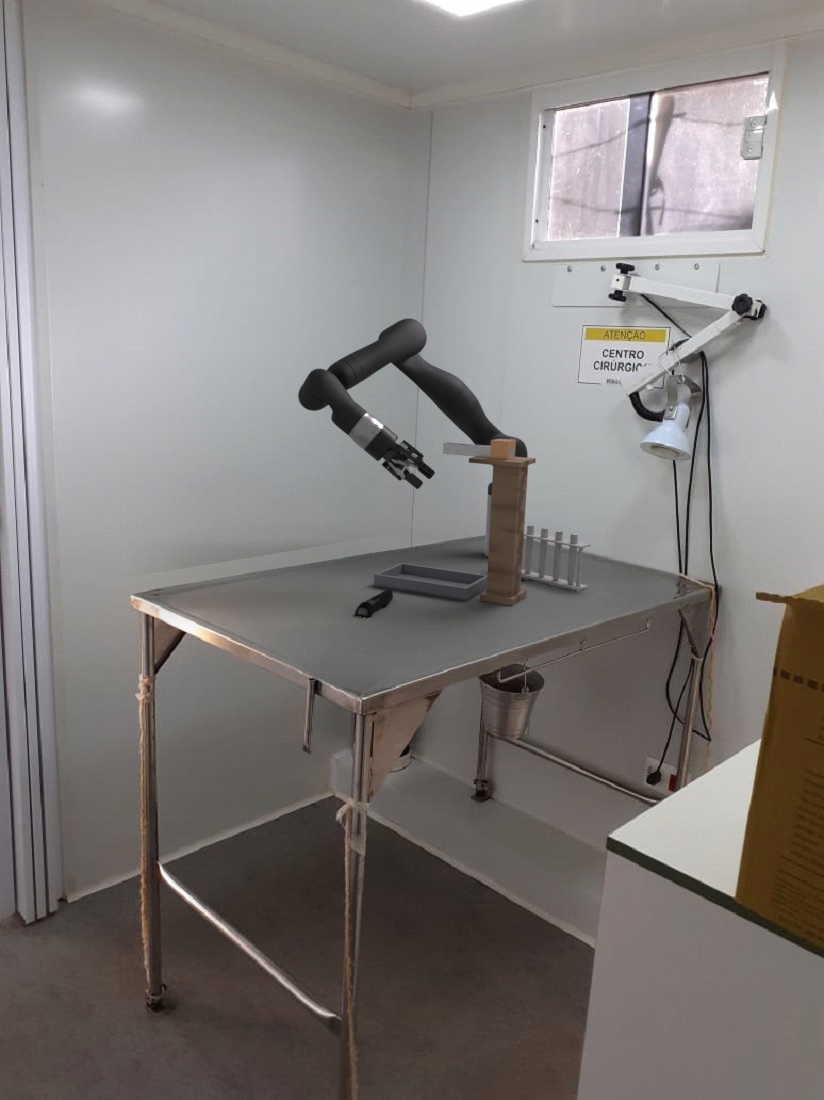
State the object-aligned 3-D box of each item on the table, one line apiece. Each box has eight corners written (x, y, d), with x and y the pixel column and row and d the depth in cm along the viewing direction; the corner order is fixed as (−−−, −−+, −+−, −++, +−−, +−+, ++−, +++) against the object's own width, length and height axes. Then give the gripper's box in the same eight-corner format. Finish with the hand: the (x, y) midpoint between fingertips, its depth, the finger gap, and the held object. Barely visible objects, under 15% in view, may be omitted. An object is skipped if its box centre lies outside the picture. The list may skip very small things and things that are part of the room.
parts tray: (401, 574, 216) (401, 562, 216) (488, 587, 206) (489, 575, 206) (374, 586, 204) (374, 574, 204) (466, 601, 194) (466, 588, 193)
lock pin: (449, 452, 200) (450, 435, 199) (514, 457, 193) (515, 439, 192) (440, 454, 195) (441, 436, 194) (507, 459, 188) (508, 441, 188)
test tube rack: (588, 588, 209) (592, 535, 206) (577, 591, 206) (581, 537, 203) (508, 568, 227) (511, 519, 224) (497, 571, 224) (500, 521, 221)
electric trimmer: (397, 602, 194) (397, 588, 193) (369, 619, 180) (370, 605, 179) (381, 600, 195) (382, 586, 194) (353, 617, 181) (353, 602, 180)
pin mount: (478, 588, 205) (485, 454, 198) (527, 596, 200) (535, 458, 193) (462, 598, 197) (468, 458, 190) (512, 606, 191) (520, 462, 184)
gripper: (355, 457, 205) (408, 500, 207) (371, 437, 192) (427, 484, 193) (374, 435, 207) (425, 478, 209) (390, 414, 194) (445, 460, 196)
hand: (426, 481), depth 201 cm, fingers open, 8 cm apart
